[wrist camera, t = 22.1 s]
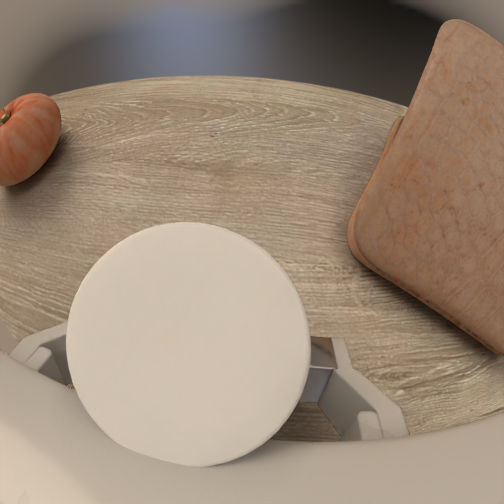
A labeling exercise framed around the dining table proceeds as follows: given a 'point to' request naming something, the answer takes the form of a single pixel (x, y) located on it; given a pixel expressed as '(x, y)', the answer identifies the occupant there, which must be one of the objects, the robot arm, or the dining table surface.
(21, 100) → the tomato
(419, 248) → the case
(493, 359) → the dining table surface
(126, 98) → the dining table surface
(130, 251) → the pill bottle
